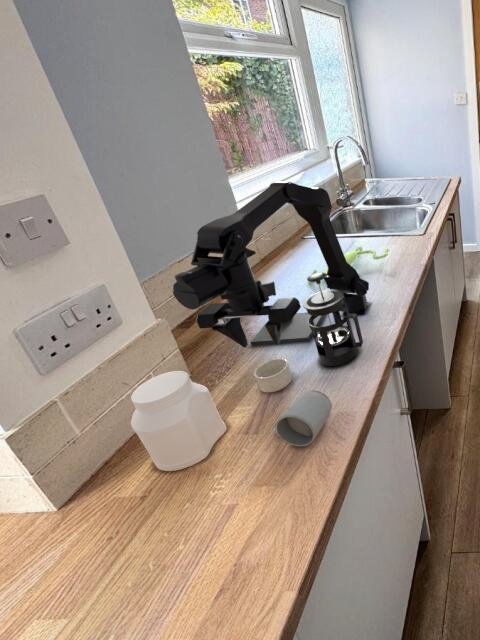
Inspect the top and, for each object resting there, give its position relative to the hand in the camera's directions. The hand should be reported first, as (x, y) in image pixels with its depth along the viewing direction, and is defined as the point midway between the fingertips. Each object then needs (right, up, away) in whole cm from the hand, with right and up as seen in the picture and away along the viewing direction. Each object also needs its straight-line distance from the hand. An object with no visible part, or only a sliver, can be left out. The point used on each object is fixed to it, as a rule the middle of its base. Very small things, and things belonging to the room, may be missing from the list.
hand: (262, 344), depth 89 cm
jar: (-7, -17, -10) cm, 22 cm away
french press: (+12, -6, +13) cm, 19 cm away
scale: (-7, -1, +24) cm, 25 cm away
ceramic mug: (+14, -16, -8) cm, 22 cm away
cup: (+1, -10, +5) cm, 11 cm away
